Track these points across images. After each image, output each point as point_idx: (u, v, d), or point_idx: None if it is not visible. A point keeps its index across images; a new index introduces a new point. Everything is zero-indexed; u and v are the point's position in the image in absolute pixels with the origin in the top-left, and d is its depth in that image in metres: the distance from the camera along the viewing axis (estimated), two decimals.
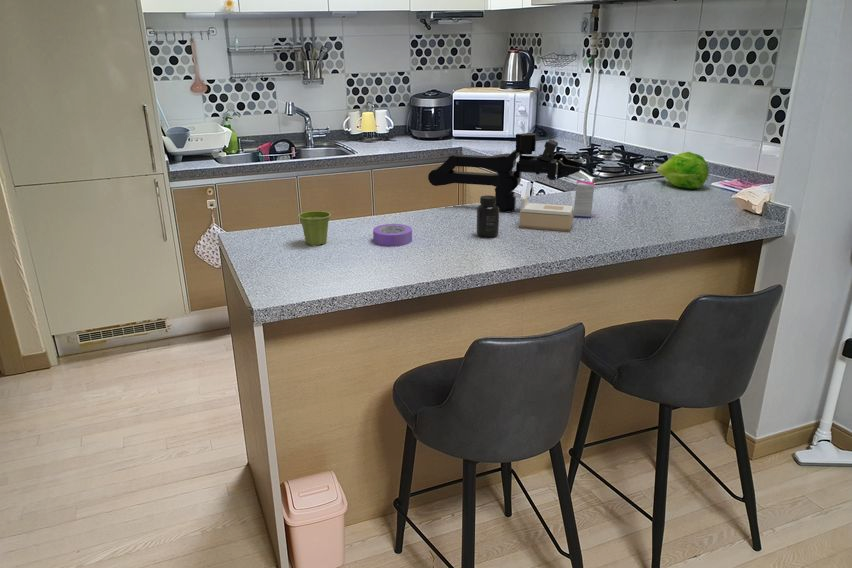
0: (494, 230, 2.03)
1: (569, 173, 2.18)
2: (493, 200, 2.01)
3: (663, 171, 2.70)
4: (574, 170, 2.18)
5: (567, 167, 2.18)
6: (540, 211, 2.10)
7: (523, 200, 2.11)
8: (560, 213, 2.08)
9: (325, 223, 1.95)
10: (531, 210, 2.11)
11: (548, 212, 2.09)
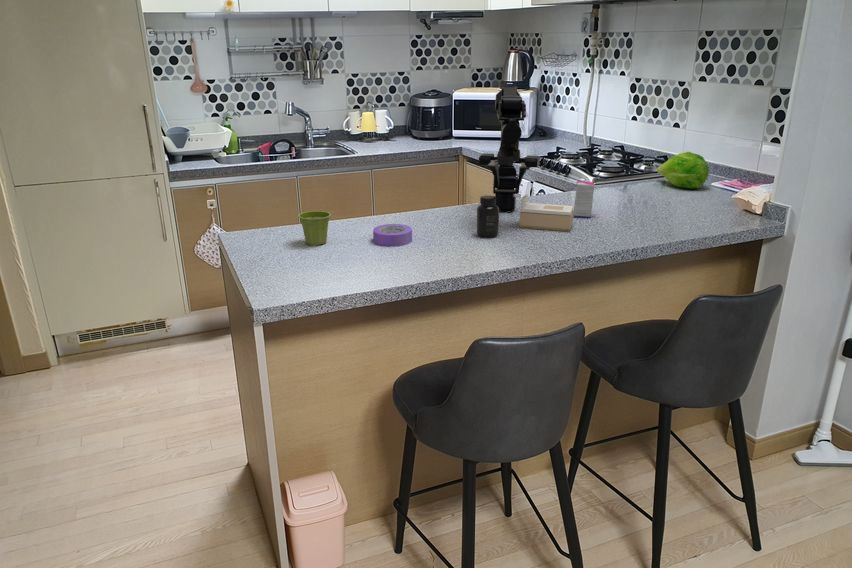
0: (494, 230, 2.03)
1: None
2: (493, 200, 2.01)
3: (663, 171, 2.70)
4: None
5: None
6: (540, 211, 2.10)
7: (523, 200, 2.11)
8: (560, 213, 2.08)
9: (325, 223, 1.95)
10: (531, 210, 2.11)
11: (548, 212, 2.09)
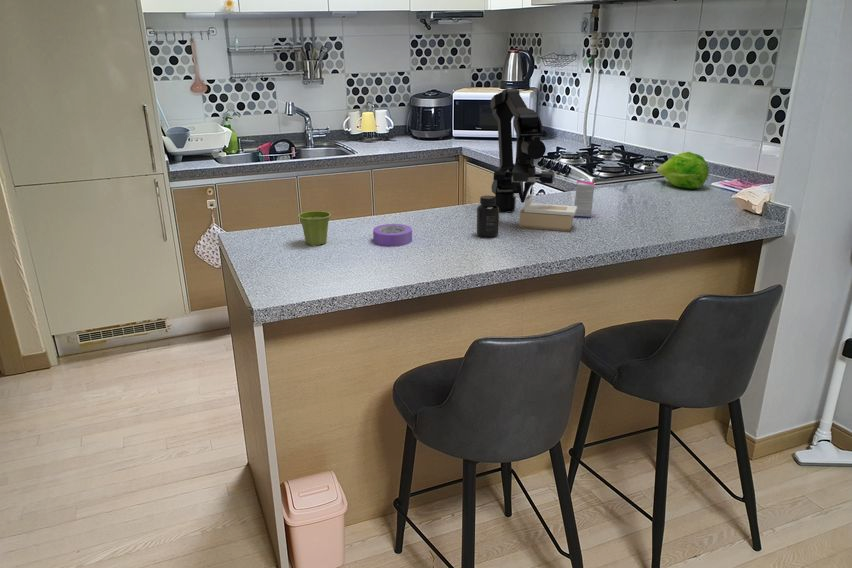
0: (494, 230, 2.03)
1: None
2: (493, 200, 2.01)
3: (663, 171, 2.70)
4: None
5: None
6: (544, 211, 2.09)
7: (527, 200, 2.11)
8: (564, 214, 2.08)
9: (325, 223, 1.95)
10: (535, 210, 2.10)
11: (552, 212, 2.09)
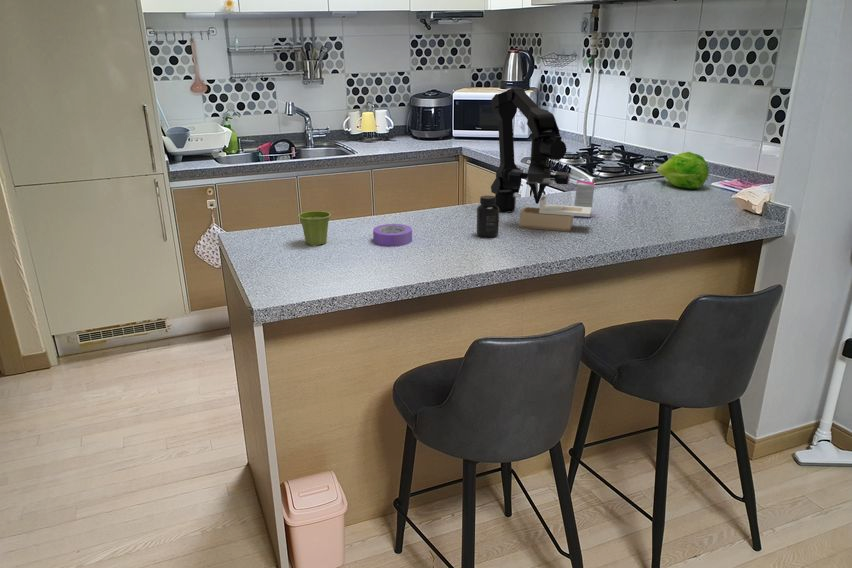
0: (494, 230, 2.03)
1: None
2: (493, 200, 2.01)
3: (663, 171, 2.70)
4: None
5: None
6: (559, 212, 2.08)
7: (542, 201, 2.09)
8: (579, 215, 2.06)
9: (325, 223, 1.95)
10: (550, 211, 2.09)
11: (567, 213, 2.07)
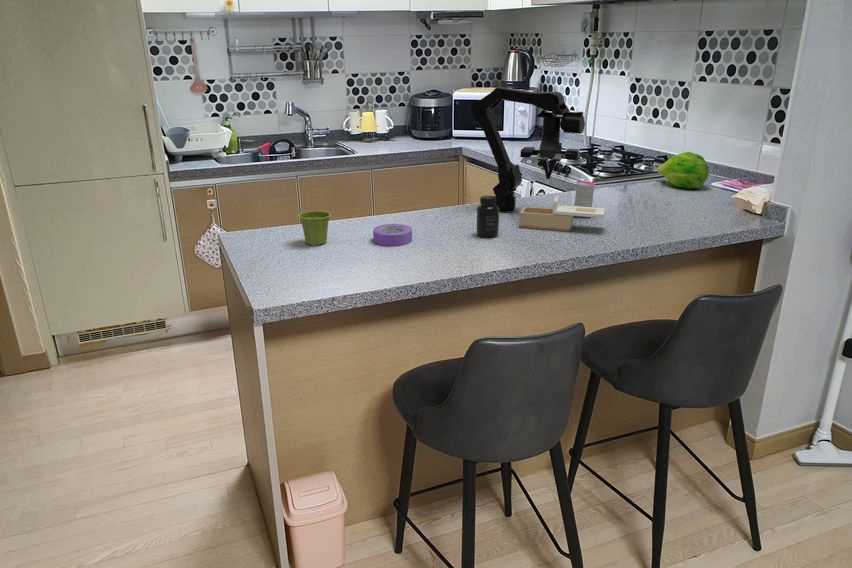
0: (494, 230, 2.03)
1: None
2: (493, 200, 2.01)
3: (663, 171, 2.70)
4: None
5: None
6: (573, 213, 2.07)
7: (555, 202, 2.08)
8: (593, 216, 2.05)
9: (325, 223, 1.95)
10: (563, 212, 2.08)
11: (581, 214, 2.06)
